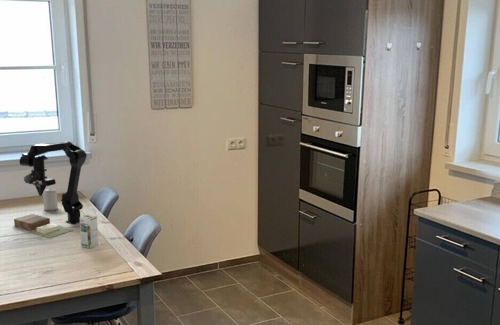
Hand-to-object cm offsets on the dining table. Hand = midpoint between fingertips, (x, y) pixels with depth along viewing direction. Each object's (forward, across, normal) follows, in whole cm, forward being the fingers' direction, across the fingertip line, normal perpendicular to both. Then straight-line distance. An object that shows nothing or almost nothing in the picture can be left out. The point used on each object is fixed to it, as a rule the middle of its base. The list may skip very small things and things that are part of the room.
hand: (40, 195), depth 290 cm
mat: (+12, +23, -13) cm, 29 cm away
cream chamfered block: (+10, +21, -13) cm, 27 cm away
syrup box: (+12, +55, -17) cm, 59 cm away
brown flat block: (+12, +8, -12) cm, 19 cm away
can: (+13, -9, +13) cm, 21 cm away
